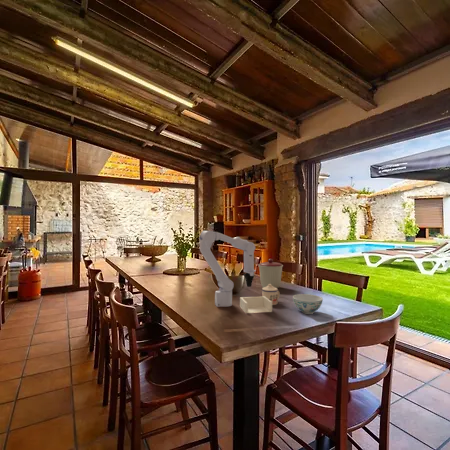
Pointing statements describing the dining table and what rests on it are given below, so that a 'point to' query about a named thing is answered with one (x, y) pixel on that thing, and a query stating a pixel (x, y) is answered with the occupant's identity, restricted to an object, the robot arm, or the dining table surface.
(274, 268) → the canister
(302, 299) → the chinaware
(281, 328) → the dining table surface
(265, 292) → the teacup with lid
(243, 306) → the box
